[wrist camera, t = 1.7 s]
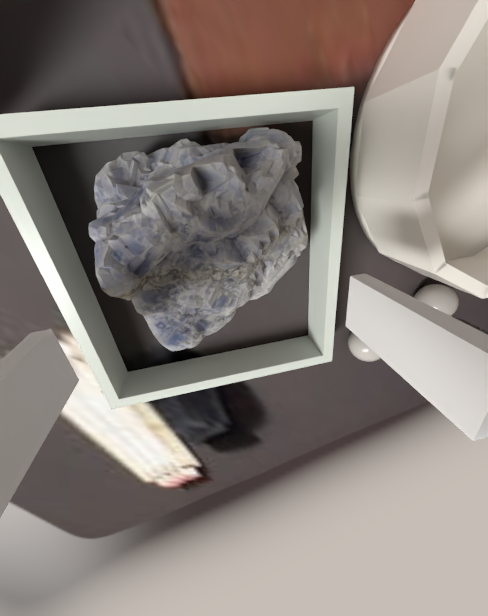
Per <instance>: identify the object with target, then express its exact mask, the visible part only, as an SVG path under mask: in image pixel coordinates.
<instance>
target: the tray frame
mask: <svg viewBox="0 0 488 616" xmlns="http://www.w3.org/2000/svg"><path fill="white" fill-rule="evenodd" d="M353 99H354V87H345V88H332V89H319V90H306V91H293V92H280V93H268V94H255V95H242V96H229V97H216V98H203V99H190V100H178V101H165V102H152V103H139V104H126V105H113V106H100V107H88V108H75V109H62V110H49V111H36V112H23V113H10V114H0V195H1V197H2V198H3V200H4V202H5V204H6V206H7V208H8V210H9V212H10V214H11V216H12V218H13V220H14V222H15V224H16V226H17V227H18V229H19V231H20V233H21V235H22V237H23V239H24V241H25V243H26V245H27V247H28V249H29V251H30V253H31V255H32V257H33V258H34V260H35V262H36V264H37V266H38V268H39V270H40V272H41V274H42V276H43V278H44V280H45V282H46V284H47V286H48V288H49V289H50V291H51V293H52V295H53V297H54V299H55V301H56V303H57V305H58V307H59V309H60V311H61V313H62V315H63V317H64V319H65V320H66V322H67V324H68V326H69V328H70V330H71V332H72V334H73V336H74V338H75V340H76V342H77V344H78V346H79V348H80V350H81V351H82V353H83V355H84V357H85V359H86V361H87V363H88V365H89V367H90V369H91V371H92V373H93V375H94V377H95V379H96V380H97V382H98V384H99V386H100V388H101V390H102V392H103V394H104V396H105V398H106V400H107V402H108V404H109V406H110V408H111V409H115V408H120V407H124V406H129V405H134V404H138V403H143V402H147V401H152V400H156V399H161V398H166V397H170V396H175V395H179V394H184V393H188V392H193V391H197V390H202V389H207V388H211V387H216V386H220V385H225V384H229V383H234V382H239V381H243V380H248V379H252V378H257V377H261V376H266V375H271V374H275V373H280V372H284V371H289V370H293V369H298V368H303V367H307V366H312V365H316V364H321V363H325V362H330V361H332V354H333V342H334V329H335V317H336V305H337V293H338V281H339V269H340V257H341V245H342V233H343V220H344V208H345V196H346V184H347V172H348V160H349V148H350V136H351V124H352V112H353ZM303 121H313V139H312V182H311V226H310V270H309V313H308V335H307V336H302V337H297V338H292V339H288V340H283V341H278V342H273V343H268V344H263V345H258V346H253V347H248V348H243V349H238V350H233V351H228V352H224V353H219V354H214V355H209V356H204V357H199V358H194V359H189V360H184V361H179V362H174V363H169V364H164V365H160V366H155V367H150V368H145V369H140V370H135V371H130V372H128V371H127V369H126V367H125V364H124V362H123V360H122V357H121V355H120V353H119V350H118V348H117V345H116V343H115V341H114V338H113V336H112V334H111V331H110V329H109V327H108V324H107V322H106V320H105V317H104V315H103V313H102V310H101V308H100V306H99V303H98V301H97V299H96V296H95V294H94V292H93V289H92V287H91V285H90V282H89V280H88V278H87V275H86V273H85V271H84V268H83V266H82V263H81V261H80V259H79V256H78V254H77V252H76V249H75V247H74V245H73V242H72V240H71V238H70V235H69V233H68V231H67V228H66V226H65V224H64V221H63V219H62V217H61V214H60V212H59V210H58V207H57V205H56V203H55V200H54V198H53V196H52V193H51V191H50V189H49V186H48V184H47V181H46V179H45V177H44V174H43V172H42V170H41V167H40V165H39V163H38V160H37V158H36V156H35V153H34V151H33V149H32V147H36V146H46V145H57V144H68V143H78V142H89V141H100V140H110V139H121V138H132V137H143V136H153V135H164V134H175V133H185V132H196V131H207V130H217V129H228V128H239V127H250V126H260V125H271V124H282V123H292V122H303Z"/></svg>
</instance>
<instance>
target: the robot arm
mask: <svg viewBox="0 0 488 616" xmlns="http://www.w3.org/2000/svg"><path fill="white" fill-rule="evenodd" d="M346 327H347V328H348V329H349V330H351V331H352V332H353V333H354V334H355V335H356V336H357V337H358V338H359V339H361V340H362V341H363V342H364V343H365V344H366V345H367V346H368V347H369V348H371V349H372V350H373V351H374V352H375V353H376V354H377V355H378V356H379V357H380V358H382V359H383V360H384V361H385V362H386V363H387V364H388V365H389V366H390V367H392V368H393V369H394V370H395V371H396V372H397V373H398V374H399V375H400V376H402V377H403V378H404V379H405V380H406V381H407V382H408V383H409V384H410V385H412V386H413V387H414V388H415V389H416V390H417V391H418V392H419V393H420V394H422V395H423V396H424V397H425V398H426V399H427V400H428V401H429V402H430V403H432V404H433V405H434V406H435V407H436V408H437V409H438V410H439V411H440V412H441V413H443V414H444V415H445V416H446V417H447V418H448V419H449V420H450V421H451V422H453V423H454V424H455V425H456V426H457V427H458V428H459V429H460V430H462V431H463V432H464V433H465V434H466V435H467V436H468V437H469V438H470V439H471V440H472V441H476V440H479V439H483V438H486V437H488V332H487V331H485V330H483V329H482V330H480V329H479V327H477V326H474V325H472V324H470V323H468V322H466V321H464V320H461V319H458V318H455V317H452V316H449V315H447V314H445V313H443V312H441V311H439V310H437V309H435V308H433V307H431V306H429V305H427V304H425V303H423V302H421V301H419V300H417V299H415V298H413V297H411V296H409V295H407V294H405V293H403V292H401V291H399V290H397V289H395V288H393V287H391V286H389V285H387V284H385V283H383V282H381V281H379V280H377V279H375V278H373V277H371V276H369V275H367V274H359V275H354V276H350V284H349V295H348V305H347V316H346ZM78 381H79V379H78V377H77V375H76V374H75V372H74V370H73V368H72V366H71V364H70V363H69V361H68V359H67V357H66V355H65V353H64V352H63V350H62V348H61V346H60V344H59V342H58V340H57V339H56V337H55V335H54V333H53V331H52V329H49V330H44V331H38V332H32V333H30V334H29V335H28V336H27V337H26V338H25V339H24V340H23V341H21V342H20V343H19V344H18V345H17V346H16V347H15V348H14V349H13V350H12V351H11V352H9V353H8V354H7V355H6V356H5V357H4V358H3V359H2V360H1V361H0V517H1V515H2V513H3V512H4V510H5V508H6V507H7V505H8V503H9V501H10V500H11V498H12V496H13V494H14V493H15V491H16V489H17V487H18V486H19V484H20V482H21V480H22V479H23V477H24V475H25V473H26V472H27V470H28V468H29V467H30V465H31V463H32V461H33V460H34V458H35V456H36V454H37V453H38V451H39V449H40V447H41V446H42V444H43V442H44V440H45V439H46V437H47V435H48V433H49V432H50V430H51V428H52V426H53V425H54V423H55V421H56V419H57V418H58V416H59V414H60V413H61V411H62V409H63V407H64V406H65V404H66V402H67V400H68V399H69V397H70V395H71V393H72V392H73V390H74V388H75V386H76V385H77V383H78Z"/></svg>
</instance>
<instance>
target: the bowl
mask: <svg viewBox="0 0 488 616" xmlns="http://www.w3.org/2000/svg"><path fill="white" fill-rule="evenodd" d="M350 185H351V195H352V200H353V205H354V210H355V212H356V215H357V218H358V221H359V224H360V226H361V228H362V230H363V231H364V233H365V235H366V237H367V238H368V239H369V241H370V242H371V243H372V245H373V246H374V247H375V248H376V249H377V250H378V252H379V253H381V254H383V255H385V256H386V257H388V258H389V259H391V260H393V261H395V262H398V263H400V264H403V265H405V266H407V267H408V268H410V269H412V270H414V271H416V272H418V273H420V274H423V275H425V276H428V277H430V278H432V279H435V280H437V281H440V282H442V283H445V284H447V285H450V286H452V287H455V288H457V289H460V290H462V291H465V292H467V293H470V294H472V295H474V296H477V297H479V298H482V299H483V298H488V0H415V2H414V3H413V4H412V6H411V7H410V8H409V9H408V10H407V12H406V13H405V15H404V16H403V18H402V19H401V21H400V22H399V24H398V25H397V27H396V28H395V30H394V31H393V33H392V34H391V36H390V38H389V40H388V41H387V43H386V45H385V47H384V49H383V51H382V52H381V54H380V56H379V58H378V60H377V62H376V64H375V67H374V69H373V71H372V74H371V76H370V78H369V80H368V83H367V86H366V89H365V92H364V95H363V98H362V101H361V103H360V106H359V110H358V114H357V119H356V123H355V127H354V131H353V138H352V146H351V153H350Z"/></svg>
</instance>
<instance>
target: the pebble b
mask: <svg viewBox="0 0 488 616" xmlns="http://www.w3.org/2000/svg"><path fill="white" fill-rule="evenodd" d="M413 298H415V299H417V300H419V301H421V302H423V303H425V304H427V305H429V306H431V307H433V308H435V309H437V310H439V311H441V312H443V313H445V314H447V315H449V316H451V315H453V314H454V313H455V311H456V310H457V308H458V304H459V300H458V296H457V294H456V293H455V292H454V291H453V290H452V289H451V288H449V287H448V286H445V285H441V284H431V285H427V286H424V287H422V288H421V289H419V290H418V291H417V292H416V294H415V295H414V297H413Z"/></svg>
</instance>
